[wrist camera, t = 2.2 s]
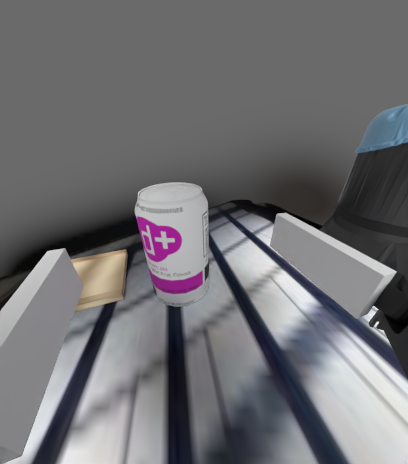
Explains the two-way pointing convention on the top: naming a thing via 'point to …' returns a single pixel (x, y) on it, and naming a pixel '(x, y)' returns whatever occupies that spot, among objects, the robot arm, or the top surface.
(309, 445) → the top surface
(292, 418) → the top surface
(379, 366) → the top surface
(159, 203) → the supplement can
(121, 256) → the trivet
